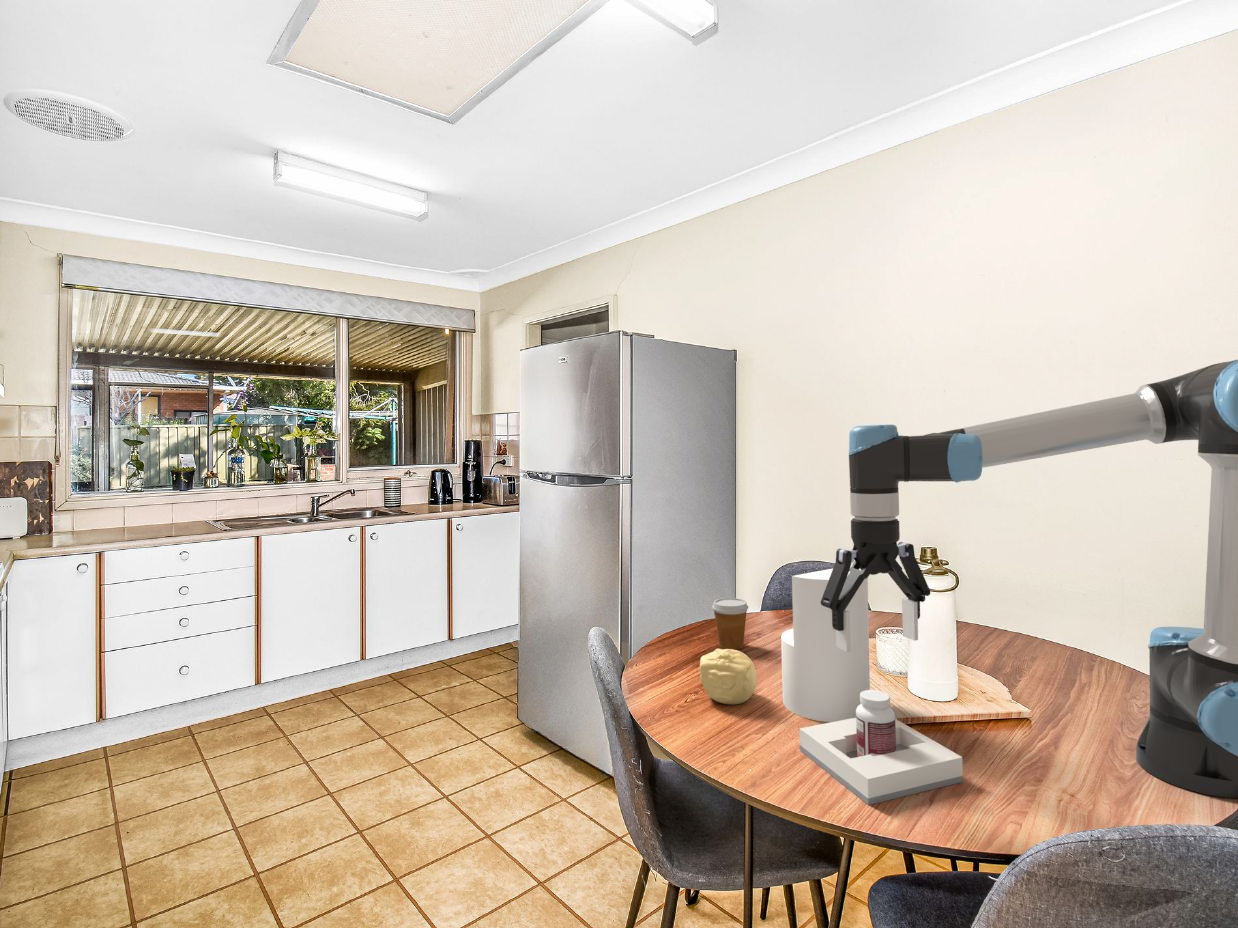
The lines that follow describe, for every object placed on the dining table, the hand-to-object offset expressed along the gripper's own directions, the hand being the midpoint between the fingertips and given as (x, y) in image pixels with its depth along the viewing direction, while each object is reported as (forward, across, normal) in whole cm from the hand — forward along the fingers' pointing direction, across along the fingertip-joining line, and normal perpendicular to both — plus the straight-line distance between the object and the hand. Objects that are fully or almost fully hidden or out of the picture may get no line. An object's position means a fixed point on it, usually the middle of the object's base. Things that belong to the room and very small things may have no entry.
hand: (877, 643), depth 107 cm
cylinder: (+21, -6, -24) cm, 32 cm away
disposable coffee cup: (+21, -6, -64) cm, 67 cm away
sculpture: (+21, +10, -34) cm, 41 cm away
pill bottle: (+20, +1, 0) cm, 20 cm away
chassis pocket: (+21, +1, 0) cm, 21 cm away
